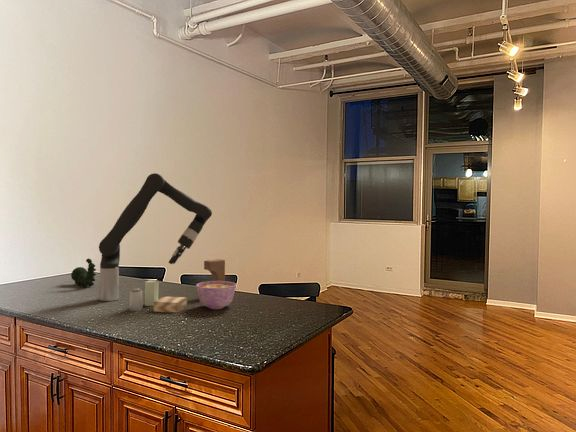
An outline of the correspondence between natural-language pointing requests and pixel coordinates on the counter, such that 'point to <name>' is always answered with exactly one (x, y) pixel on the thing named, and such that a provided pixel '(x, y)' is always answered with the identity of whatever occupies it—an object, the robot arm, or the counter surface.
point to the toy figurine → (84, 275)
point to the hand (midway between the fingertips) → (171, 263)
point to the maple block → (170, 304)
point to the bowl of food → (216, 293)
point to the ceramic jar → (136, 299)
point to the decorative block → (216, 269)
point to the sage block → (151, 292)
